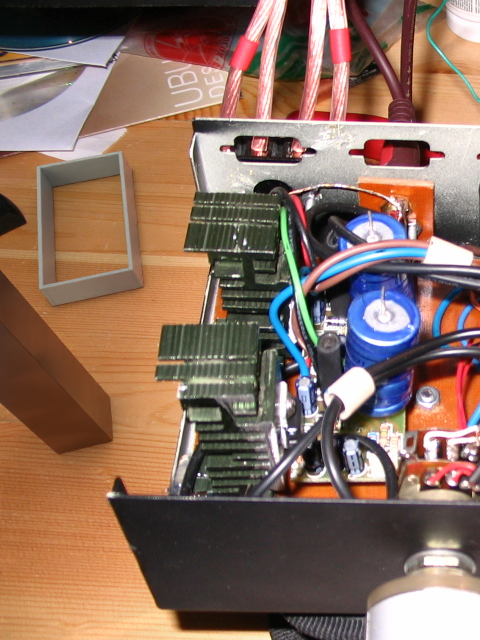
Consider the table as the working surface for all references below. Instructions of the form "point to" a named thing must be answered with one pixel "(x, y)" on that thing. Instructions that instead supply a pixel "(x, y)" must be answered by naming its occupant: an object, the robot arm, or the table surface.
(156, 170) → the table surface
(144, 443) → the table surface
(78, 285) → the grey hollow rectangular frame
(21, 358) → the brown wooden bar
